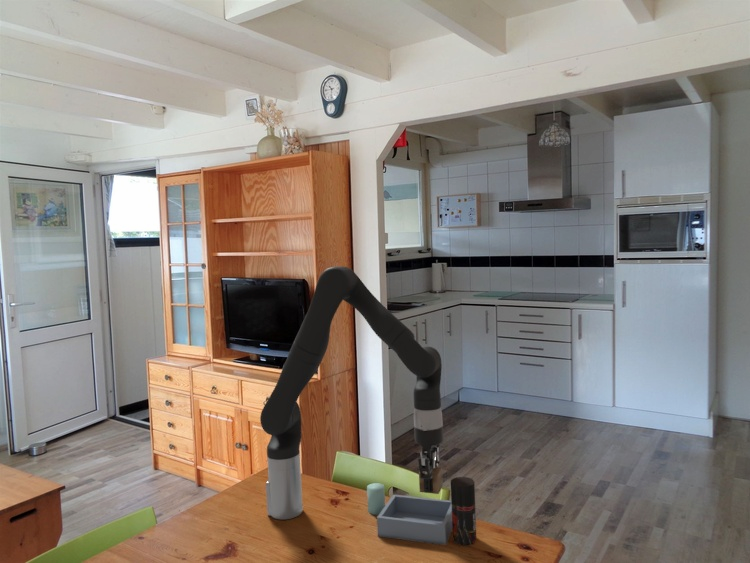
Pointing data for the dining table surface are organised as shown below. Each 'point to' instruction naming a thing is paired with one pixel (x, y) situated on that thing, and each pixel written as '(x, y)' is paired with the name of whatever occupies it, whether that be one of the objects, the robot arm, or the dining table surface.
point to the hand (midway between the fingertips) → (431, 487)
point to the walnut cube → (436, 481)
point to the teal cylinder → (375, 498)
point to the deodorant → (463, 511)
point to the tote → (416, 519)
